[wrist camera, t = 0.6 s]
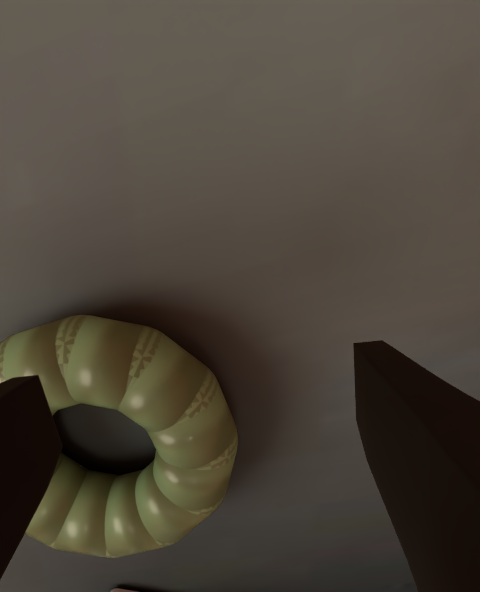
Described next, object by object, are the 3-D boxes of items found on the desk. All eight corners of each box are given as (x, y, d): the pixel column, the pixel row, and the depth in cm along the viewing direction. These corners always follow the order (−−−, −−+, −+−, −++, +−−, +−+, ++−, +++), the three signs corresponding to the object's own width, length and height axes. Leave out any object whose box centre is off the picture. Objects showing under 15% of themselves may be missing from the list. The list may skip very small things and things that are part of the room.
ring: (212, 526, 24) (206, 591, 21) (-11, 489, 24) (-53, 550, 21) (260, 332, 20) (261, 376, 17) (-15, 280, 19) (-70, 314, 16)
